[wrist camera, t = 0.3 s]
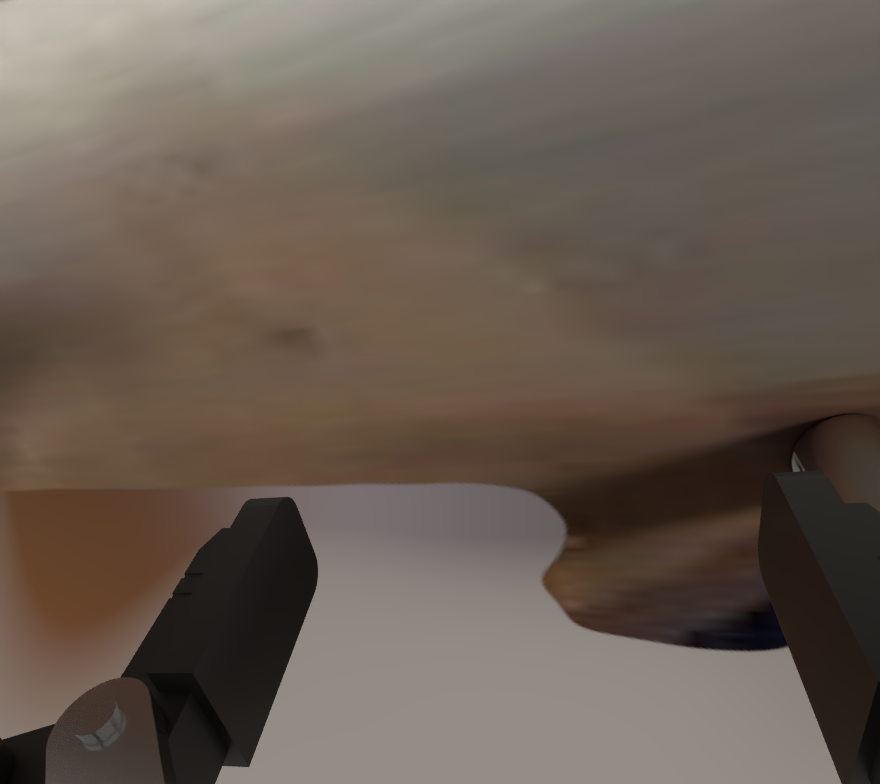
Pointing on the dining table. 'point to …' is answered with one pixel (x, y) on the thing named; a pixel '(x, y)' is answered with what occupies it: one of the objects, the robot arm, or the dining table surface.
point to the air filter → (844, 456)
